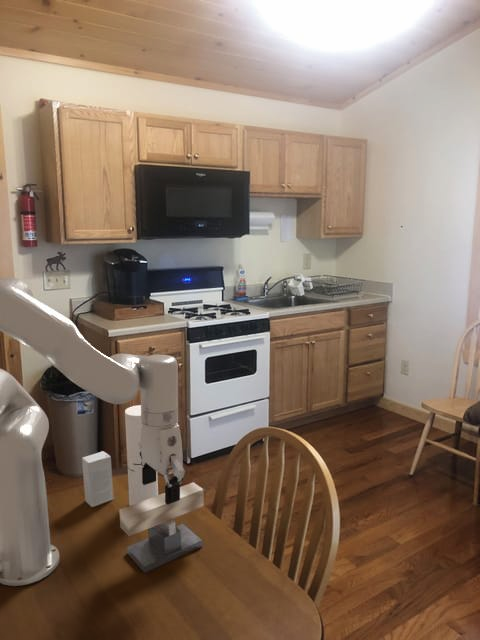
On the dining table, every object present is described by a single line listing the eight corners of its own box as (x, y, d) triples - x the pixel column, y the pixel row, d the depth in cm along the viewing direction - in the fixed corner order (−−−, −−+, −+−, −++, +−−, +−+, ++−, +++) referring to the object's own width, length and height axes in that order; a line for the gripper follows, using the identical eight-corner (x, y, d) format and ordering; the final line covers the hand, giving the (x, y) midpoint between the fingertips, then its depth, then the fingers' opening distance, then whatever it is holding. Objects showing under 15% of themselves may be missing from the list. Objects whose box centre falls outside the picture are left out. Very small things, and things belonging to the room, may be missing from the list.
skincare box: (106, 493, 136) (104, 450, 134) (113, 499, 133) (111, 456, 131) (84, 501, 132) (81, 457, 130) (91, 508, 129) (88, 463, 127)
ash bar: (129, 536, 104) (128, 518, 103) (120, 527, 107) (119, 509, 107) (203, 506, 115) (203, 489, 114) (193, 498, 118) (193, 482, 117)
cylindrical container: (152, 514, 126) (148, 416, 122) (124, 511, 128) (119, 414, 123) (162, 498, 133) (159, 406, 128) (136, 496, 135) (132, 404, 130)
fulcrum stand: (144, 572, 105) (143, 537, 104) (126, 553, 112) (125, 519, 110) (202, 546, 114) (201, 513, 112) (182, 529, 120) (181, 497, 119)
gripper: (198, 424, 102) (198, 504, 106) (155, 400, 116) (156, 471, 119) (165, 433, 98) (165, 516, 101) (124, 407, 111) (125, 481, 114)
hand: (160, 492), depth 110 cm, fingers open, 9 cm apart
